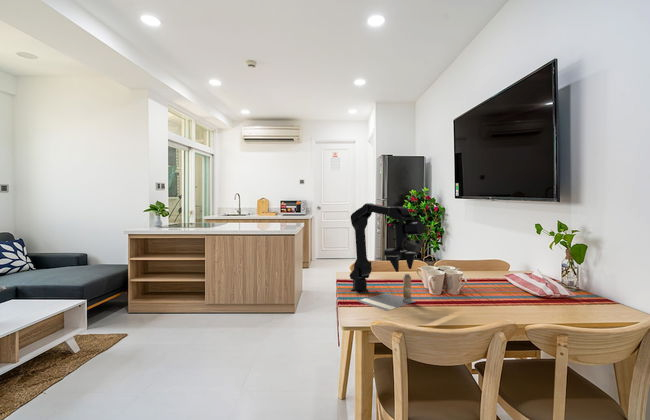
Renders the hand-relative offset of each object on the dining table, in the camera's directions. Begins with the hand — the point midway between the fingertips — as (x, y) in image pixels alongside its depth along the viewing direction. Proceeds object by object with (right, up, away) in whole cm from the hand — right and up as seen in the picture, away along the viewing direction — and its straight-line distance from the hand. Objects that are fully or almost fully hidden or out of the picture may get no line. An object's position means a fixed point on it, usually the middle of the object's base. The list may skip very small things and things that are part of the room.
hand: (403, 270), depth 146 cm
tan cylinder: (+1, -13, -2) cm, 13 cm away
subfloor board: (-8, -14, -1) cm, 16 cm away
